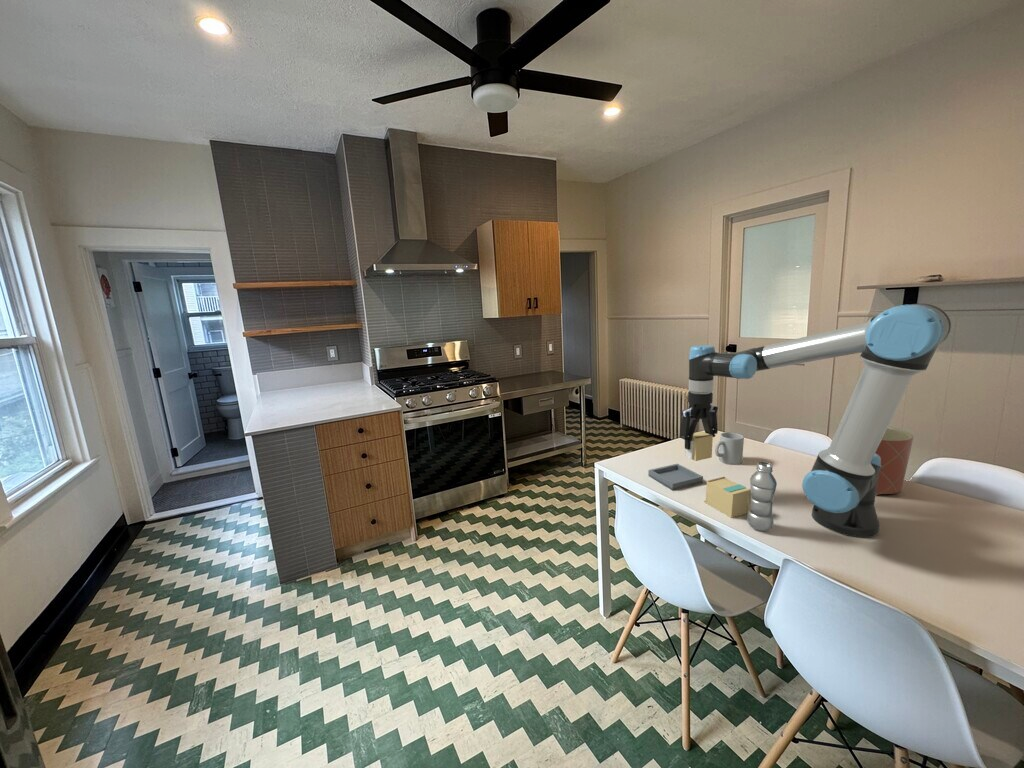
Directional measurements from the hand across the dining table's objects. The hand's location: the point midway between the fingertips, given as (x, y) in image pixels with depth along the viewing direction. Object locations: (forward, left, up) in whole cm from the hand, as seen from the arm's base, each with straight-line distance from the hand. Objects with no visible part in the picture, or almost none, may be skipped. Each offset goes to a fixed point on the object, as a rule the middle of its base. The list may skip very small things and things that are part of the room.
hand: (698, 455), depth 135 cm
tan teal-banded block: (-13, 0, -13) cm, 18 cm away
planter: (-21, -55, -14) cm, 61 cm away
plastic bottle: (-25, +1, -14) cm, 28 cm away
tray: (+10, 0, -13) cm, 17 cm away
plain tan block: (0, 0, 0) cm, 0 cm away
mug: (+14, -30, -14) cm, 36 cm away
